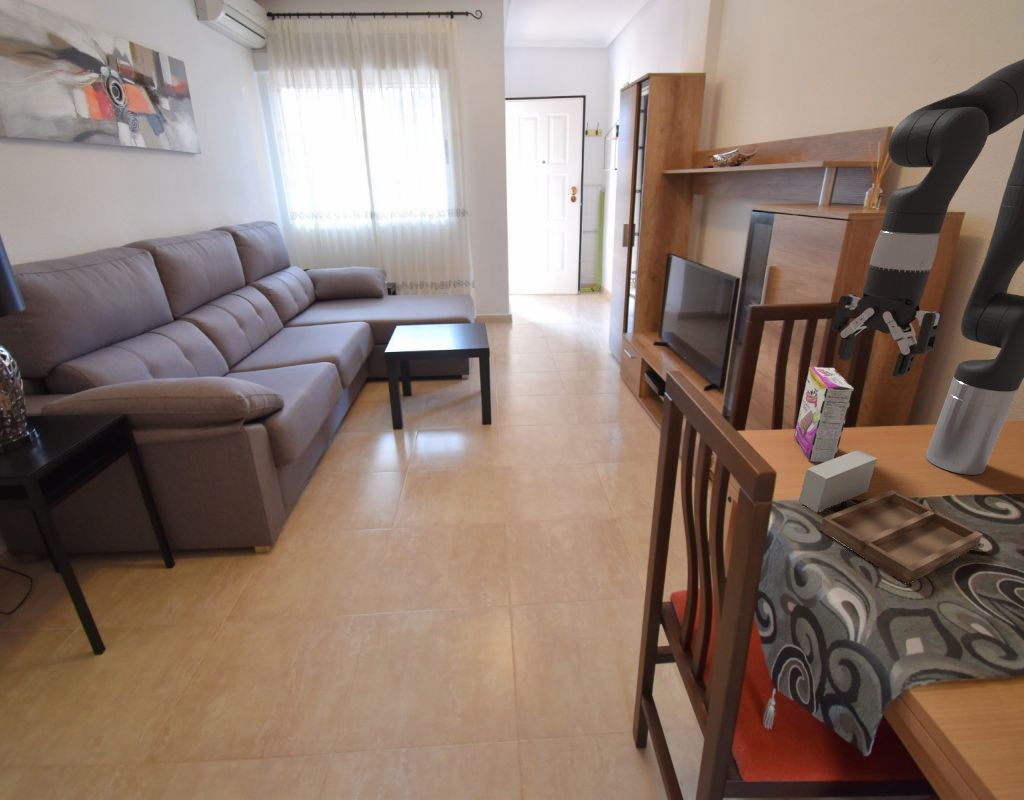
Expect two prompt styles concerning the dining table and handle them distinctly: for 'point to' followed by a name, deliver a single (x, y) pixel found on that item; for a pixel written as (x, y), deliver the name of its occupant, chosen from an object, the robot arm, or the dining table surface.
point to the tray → (901, 535)
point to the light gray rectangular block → (837, 480)
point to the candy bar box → (823, 413)
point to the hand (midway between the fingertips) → (870, 367)
